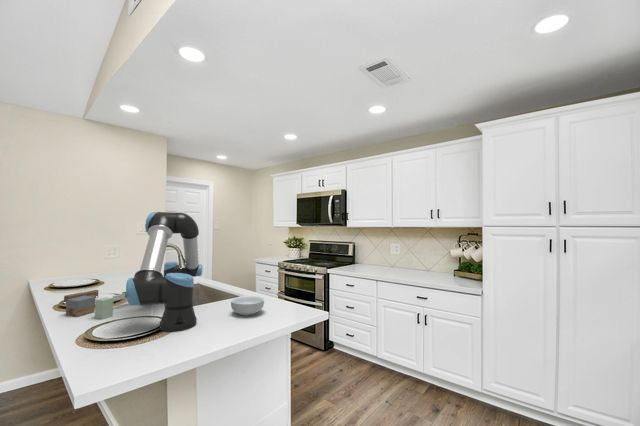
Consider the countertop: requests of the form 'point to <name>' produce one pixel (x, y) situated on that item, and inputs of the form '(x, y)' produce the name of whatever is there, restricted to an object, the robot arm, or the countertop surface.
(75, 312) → the tower base
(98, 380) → the countertop surface
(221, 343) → the countertop surface
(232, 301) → the cereal bowl
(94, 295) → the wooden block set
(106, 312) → the green pillar
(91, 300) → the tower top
